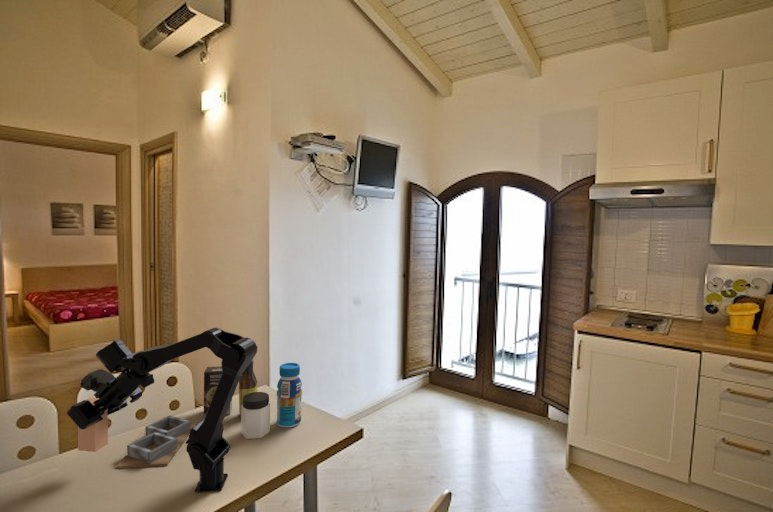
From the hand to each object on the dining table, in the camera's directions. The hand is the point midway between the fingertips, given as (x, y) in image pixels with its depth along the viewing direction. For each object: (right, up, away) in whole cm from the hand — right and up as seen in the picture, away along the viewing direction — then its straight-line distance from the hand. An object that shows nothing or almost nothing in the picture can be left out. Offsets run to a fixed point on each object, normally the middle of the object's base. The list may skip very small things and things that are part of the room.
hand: (88, 422), depth 104 cm
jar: (+37, -13, +23) cm, 46 cm away
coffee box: (+19, -12, +37) cm, 43 cm away
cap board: (+11, -13, +15) cm, 23 cm away
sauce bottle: (+30, -13, +35) cm, 48 cm away
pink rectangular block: (+1, -7, 0) cm, 7 cm away
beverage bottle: (+46, -13, +30) cm, 57 cm away
